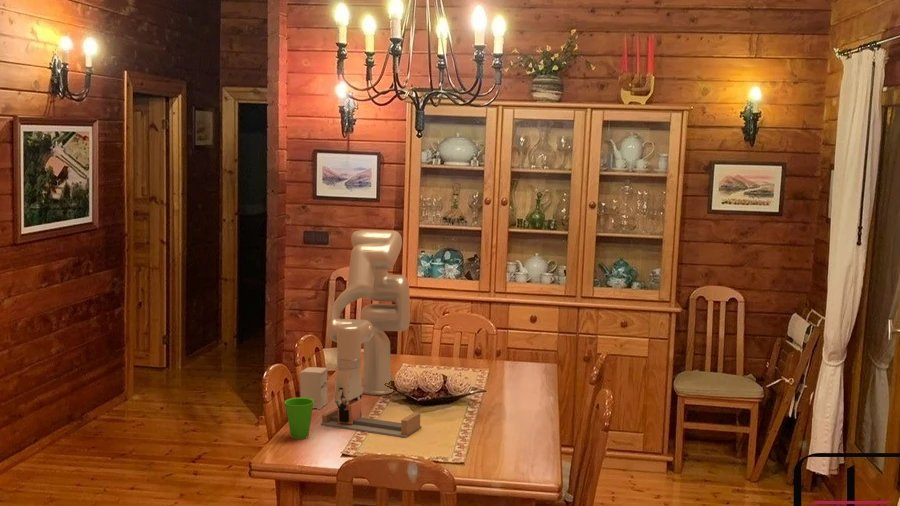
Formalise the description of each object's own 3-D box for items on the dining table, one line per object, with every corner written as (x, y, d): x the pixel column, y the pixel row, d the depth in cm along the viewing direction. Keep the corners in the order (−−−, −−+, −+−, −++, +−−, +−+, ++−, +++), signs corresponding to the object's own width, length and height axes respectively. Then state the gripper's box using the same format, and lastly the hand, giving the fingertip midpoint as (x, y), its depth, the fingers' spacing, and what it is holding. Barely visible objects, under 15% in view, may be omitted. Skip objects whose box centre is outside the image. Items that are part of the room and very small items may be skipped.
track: (338, 415, 297) (338, 401, 296) (421, 427, 285) (421, 412, 284) (320, 425, 287) (320, 409, 286) (405, 437, 275) (405, 421, 274)
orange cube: (347, 417, 293) (347, 399, 292) (361, 419, 291) (361, 400, 290) (337, 422, 287) (337, 403, 286) (351, 424, 285) (351, 405, 284)
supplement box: (320, 409, 304) (320, 372, 302) (299, 408, 305) (299, 371, 304) (328, 403, 311) (327, 367, 310) (307, 402, 313) (307, 366, 311)
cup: (303, 430, 282) (302, 395, 280) (320, 437, 275) (320, 401, 274) (278, 436, 275) (278, 401, 274) (296, 443, 269) (295, 407, 268)
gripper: (352, 356, 296) (353, 410, 298) (324, 368, 280) (325, 424, 282) (373, 358, 293) (373, 413, 295) (345, 370, 277) (345, 428, 279)
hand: (349, 418), depth 289 cm, fingers closed on orange cube, 6 cm apart
